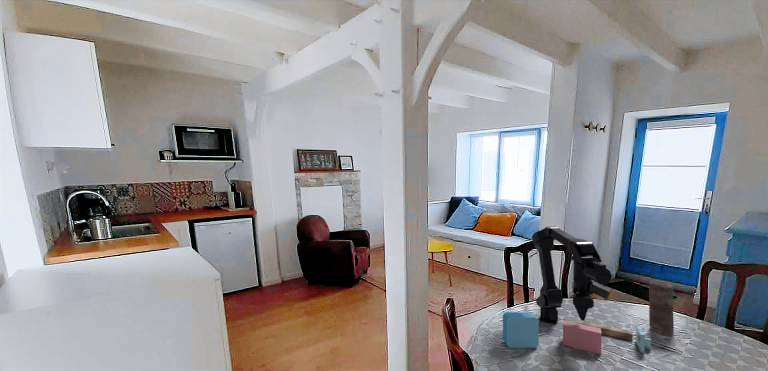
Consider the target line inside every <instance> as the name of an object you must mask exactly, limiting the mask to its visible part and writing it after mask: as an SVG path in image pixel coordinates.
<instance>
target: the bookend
mask: <svg viewBox="0 0 768 371" xmlns="http://www.w3.org/2000/svg"><path fill="white" fill-rule="evenodd" d="M635 342H636V343H635V344H636V346H637V348H638V352H639V354H643V355H644V354H645V350H647V351H651V350H652V339H651V337H650V338H648V337H645V333H644V330H643V328H642V325H641V324H640V323H639V324H637V323H636V324H635Z"/></svg>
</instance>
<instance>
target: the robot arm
mask: <svg viewBox="0 0 768 371" xmlns="http://www.w3.org/2000/svg"><path fill="white" fill-rule="evenodd" d="M531 240H532V242H533V243H532V244H533V247H534V248H535V249H536V250H537V252H538V256H539V262H540V263H539V265H540V270H541V277H542V278H541V280H542V286H541V288H540V290H539V296H537V298H536V299H535V304H536V305H537V306H538V307H539V308H540V309H539V310H540V314H539V315H540V317H539V321H540V322H545V323H549V324H554V325H557V324H558V321H559V310H558V308H559V309H560V308H561V307H562V304H563V302H564V296H563V290H562V289H561V288H559V287H558V286H557V285H556V280H555V272H554V266H553V260H552V251H553V250H552V249H553V248H554V245H555V244H554V242H555V241H557V242H558V243H559V244H561V245H562V246H565V247H566V248H567V251H568V253H570V255H572V256H570V257H569V260H571V261H572V263H573V269H572V270H573V271H572V273H573V274H572V275H573V276H572V279H573V281H572V283H571V285H572V293H573V294H572V304H573V306H574V308H575V310H576V312H577V315H578V317H579V319H580V321H582V322H585V320H586V316H587V313H588V311H589V310H590V309H593V308H594V307H595V306H594V305H595V302H594V298H593V297H592V296H594V295H596V296H598V297H600V298H602V299H604V300H608V298H609V296H610V294H611V292H612V291H611V288H610V287H609V286H607V285H608V284H609V283H610V282H611V280H612V277H613V275H612V273H611V271H610V269H608V268H607V265H606V264H604V263H602V262H603V261H602V259H601V256H600V254H599V252H598V251H597V250H598V249H596V247H595V244H594V243H593V242H592V241H589V240H586V239H582V238H577V237H575V236H573V235H571V234H569V233H568V232H565V231H564V230H562V229H560V227H559V226H557V225H553V226H551V225H550V226H545V227H544V228H542V229H540V230H537V231H535V232H534V233H533V234H532V236H531ZM591 295H592V296H591Z"/></svg>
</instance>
